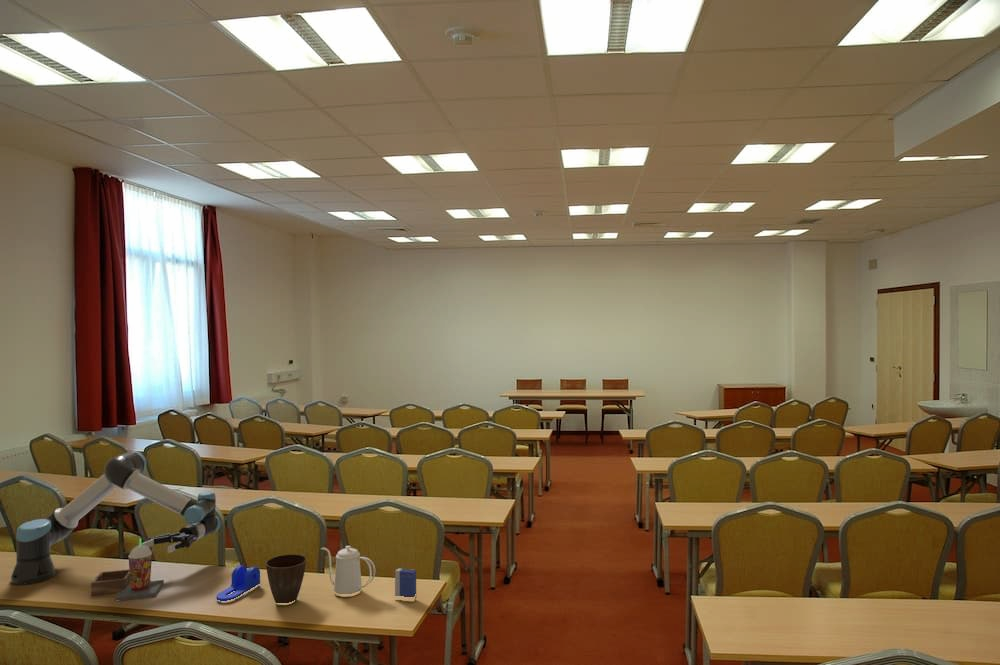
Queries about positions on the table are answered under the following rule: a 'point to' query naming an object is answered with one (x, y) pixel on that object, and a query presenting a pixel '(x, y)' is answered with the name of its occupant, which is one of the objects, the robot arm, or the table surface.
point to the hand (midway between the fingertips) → (154, 548)
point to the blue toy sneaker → (240, 582)
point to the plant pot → (286, 576)
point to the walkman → (405, 582)
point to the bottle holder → (110, 582)
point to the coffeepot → (348, 571)
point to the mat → (146, 593)
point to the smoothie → (140, 567)
